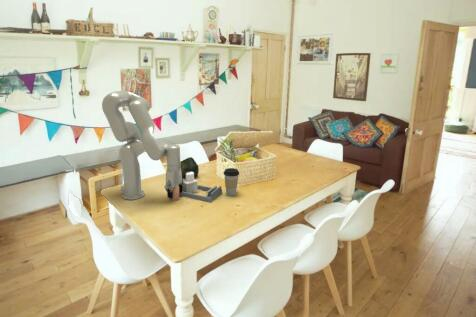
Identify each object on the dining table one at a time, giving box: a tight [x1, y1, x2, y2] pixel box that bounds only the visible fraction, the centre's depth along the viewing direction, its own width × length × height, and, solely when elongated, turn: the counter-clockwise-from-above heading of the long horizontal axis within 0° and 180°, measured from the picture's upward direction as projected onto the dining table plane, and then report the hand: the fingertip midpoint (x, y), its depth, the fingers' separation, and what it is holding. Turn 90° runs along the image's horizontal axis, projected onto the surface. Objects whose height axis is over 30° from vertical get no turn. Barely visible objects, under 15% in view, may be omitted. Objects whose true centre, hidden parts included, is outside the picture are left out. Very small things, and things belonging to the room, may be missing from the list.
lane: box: [179, 184, 223, 203], centre depth 191 cm, size 26×14×5 cm, turn 66°
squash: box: [180, 156, 200, 179], centre depth 216 cm, size 14×15×15 cm
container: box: [182, 171, 199, 194], centre depth 193 cm, size 8×8×13 cm
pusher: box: [205, 185, 218, 197], centre depth 188 cm, size 1×11×5 cm, turn 156°
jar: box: [169, 185, 181, 202], centre depth 184 cm, size 6×6×9 cm
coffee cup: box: [222, 167, 240, 197], centre depth 191 cm, size 9×9×15 cm
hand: (175, 194), depth 184 cm, fingers open, 9 cm apart
